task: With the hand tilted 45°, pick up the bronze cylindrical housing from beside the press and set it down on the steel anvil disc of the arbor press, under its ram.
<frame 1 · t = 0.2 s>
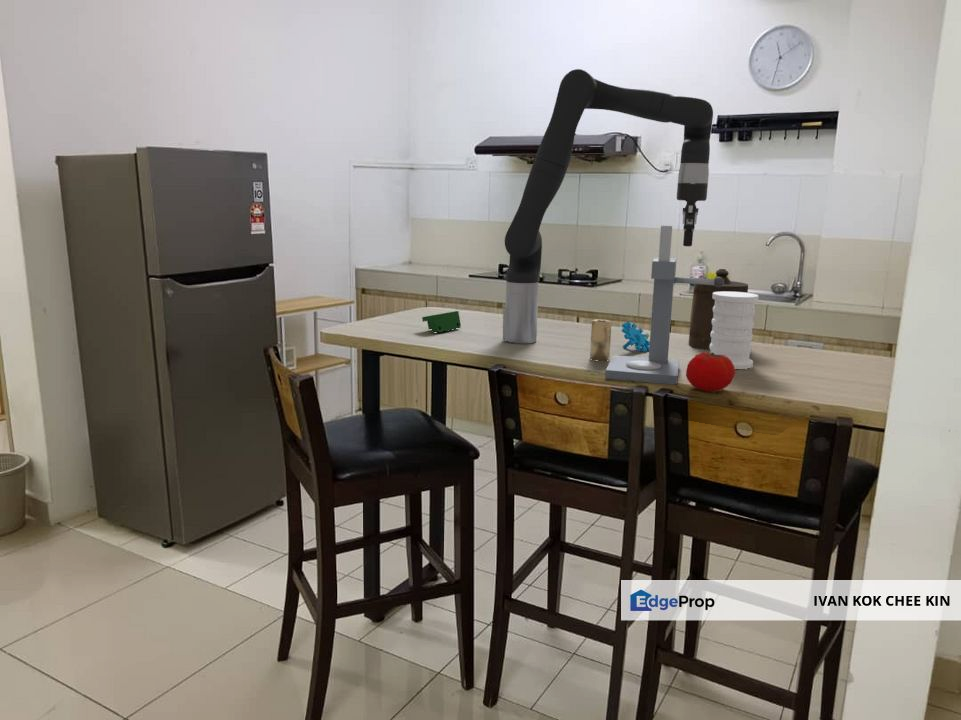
hand: (687, 245, 191), 29 cm above the table, tool pointing down, fingers open, 8 cm apart
housing: (599, 359, 188), on the table
press: (642, 374, 173), on the table
dark green angular piece: (440, 331, 224), on the table
wooden container: (715, 346, 208), on the table
decorative container: (728, 365, 185), on the table
gear: (636, 350, 201), on the table
tomato: (708, 390, 160), on the table
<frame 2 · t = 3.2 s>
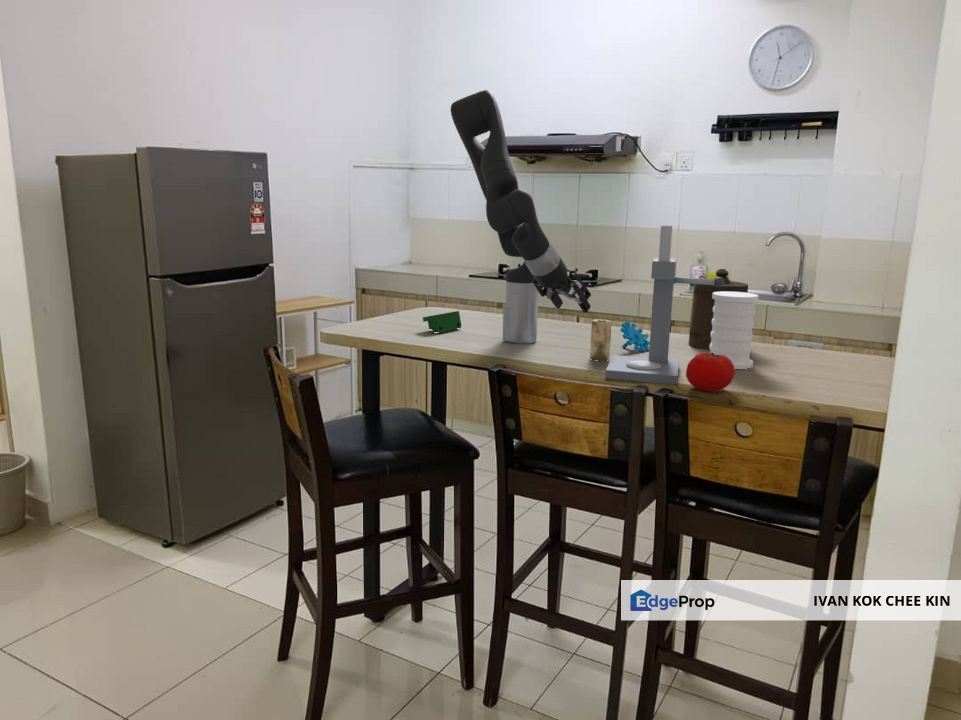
hand: (573, 307, 177), 15 cm above the table, tool tilted 45°, fingers open, 8 cm apart
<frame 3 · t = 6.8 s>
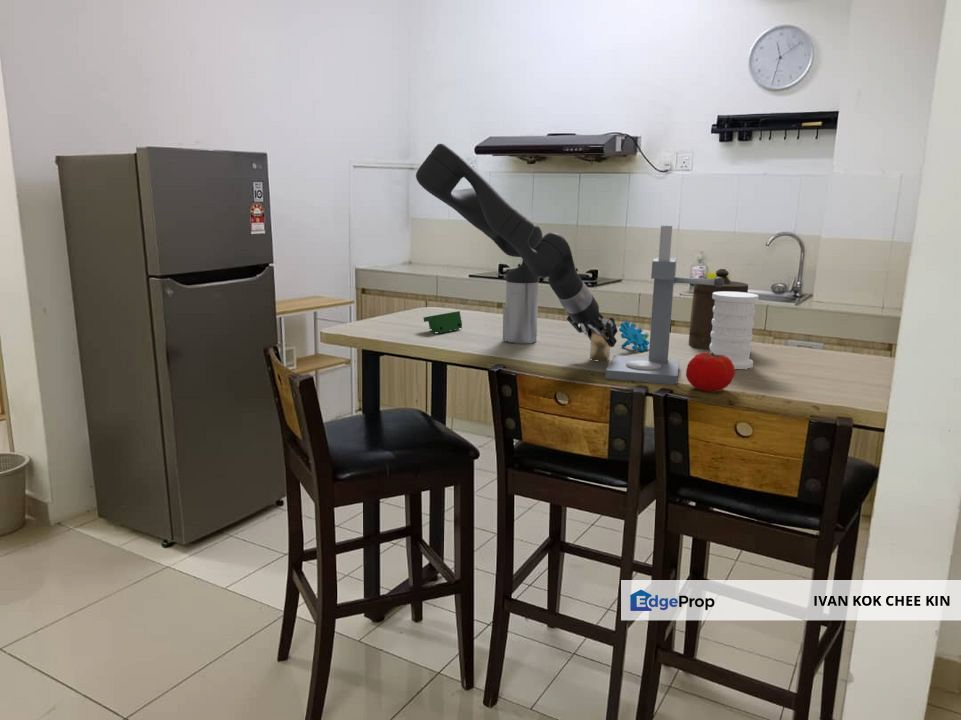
hand: (604, 342, 189), 4 cm above the table, tool tilted 45°, fingers closed on housing, 5 cm apart
housing: (599, 359, 188), on the table, touching gripper
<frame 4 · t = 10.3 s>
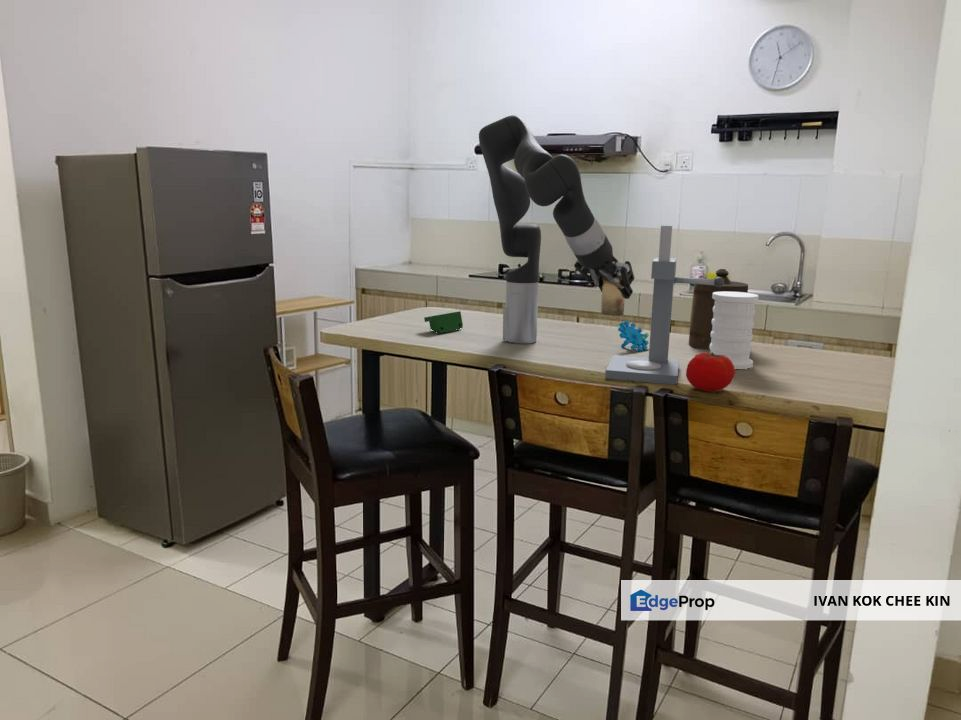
hand: (618, 294, 161), 20 cm above the table, tool tilted 45°, fingers closed on housing, 5 cm apart
housing: (612, 313, 161), point 16 cm above the table, touching gripper
when the fingers open (8 cm above the table, at t = 14.1 s): housing drops 1 cm, resting on press.
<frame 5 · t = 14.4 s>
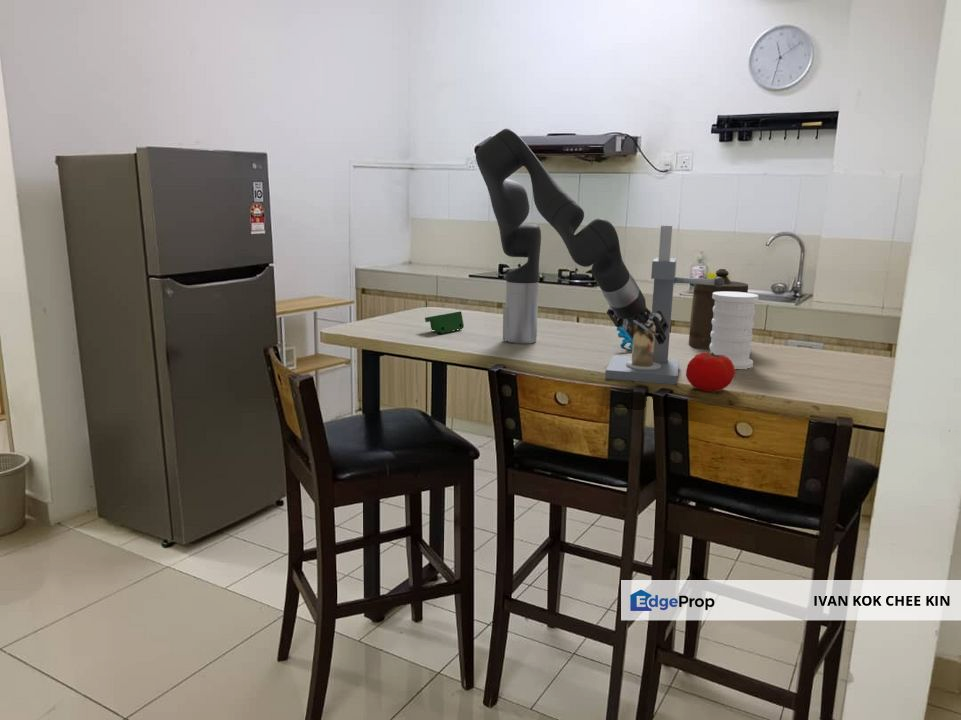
hand: (648, 338, 172), 8 cm above the table, tool tilted 45°, fingers open, 7 cm apart
housing: (642, 364, 172), point 3 cm above the table, touching press
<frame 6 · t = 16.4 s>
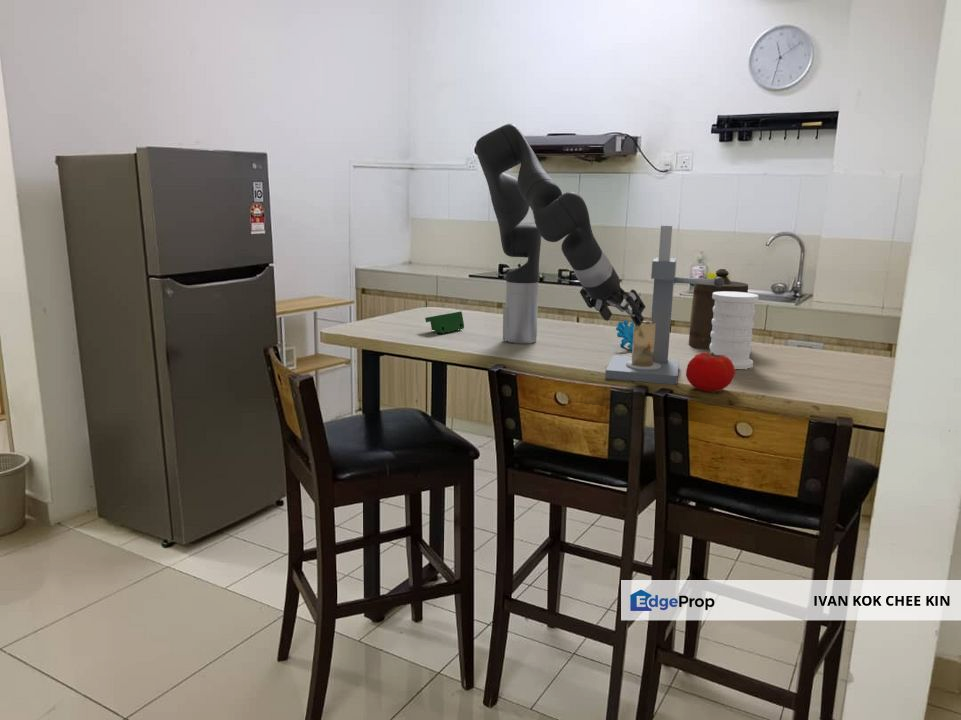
hand: (624, 320, 164), 14 cm above the table, tool tilted 45°, fingers open, 8 cm apart
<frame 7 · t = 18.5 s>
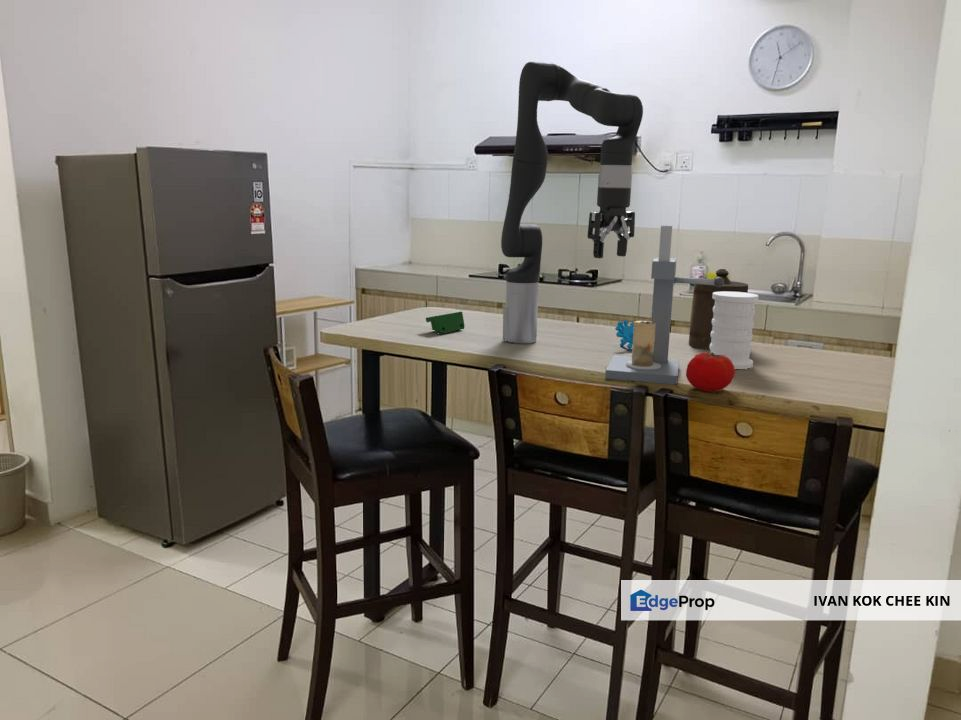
hand: (609, 257, 170), 27 cm above the table, tool pointing down, fingers open, 8 cm apart
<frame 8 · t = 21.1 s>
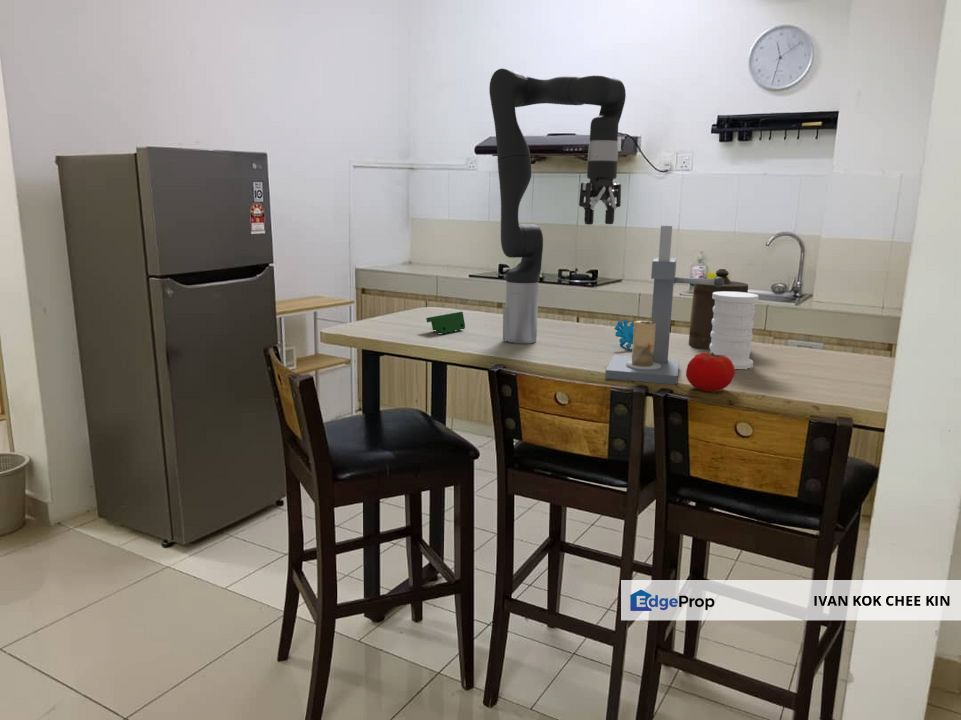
hand: (599, 224, 189), 34 cm above the table, tool pointing down, fingers open, 8 cm apart
at the end: housing inside the target area on the press (0.3 cm from its centre), point 2.5 cm above the press's base; housing tilted 0°; the gripper is holding nothing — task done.
